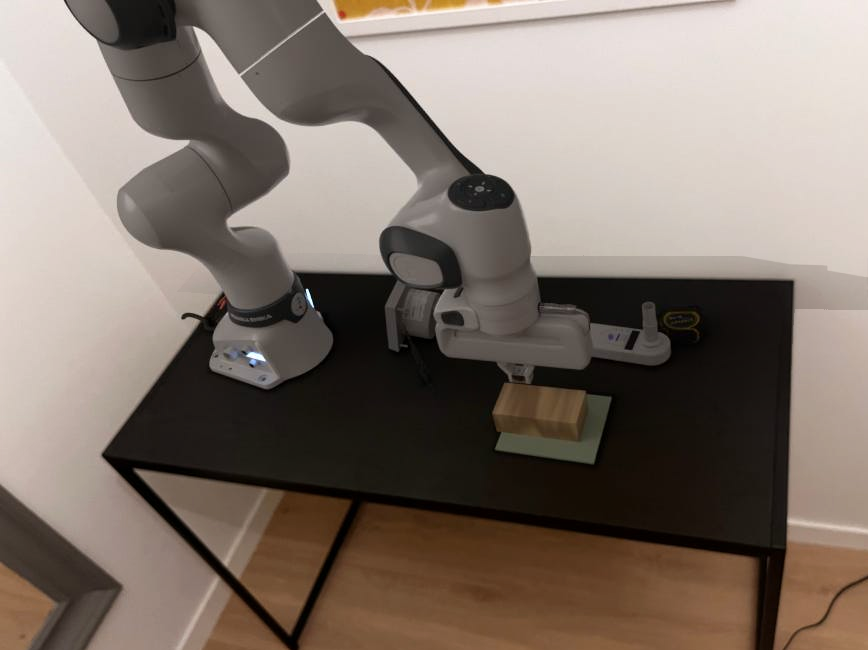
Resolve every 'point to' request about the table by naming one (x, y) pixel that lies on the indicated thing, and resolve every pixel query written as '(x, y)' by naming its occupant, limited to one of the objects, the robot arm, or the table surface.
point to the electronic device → (632, 341)
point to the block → (541, 411)
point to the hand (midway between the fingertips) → (521, 379)
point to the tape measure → (682, 324)
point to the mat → (562, 448)
